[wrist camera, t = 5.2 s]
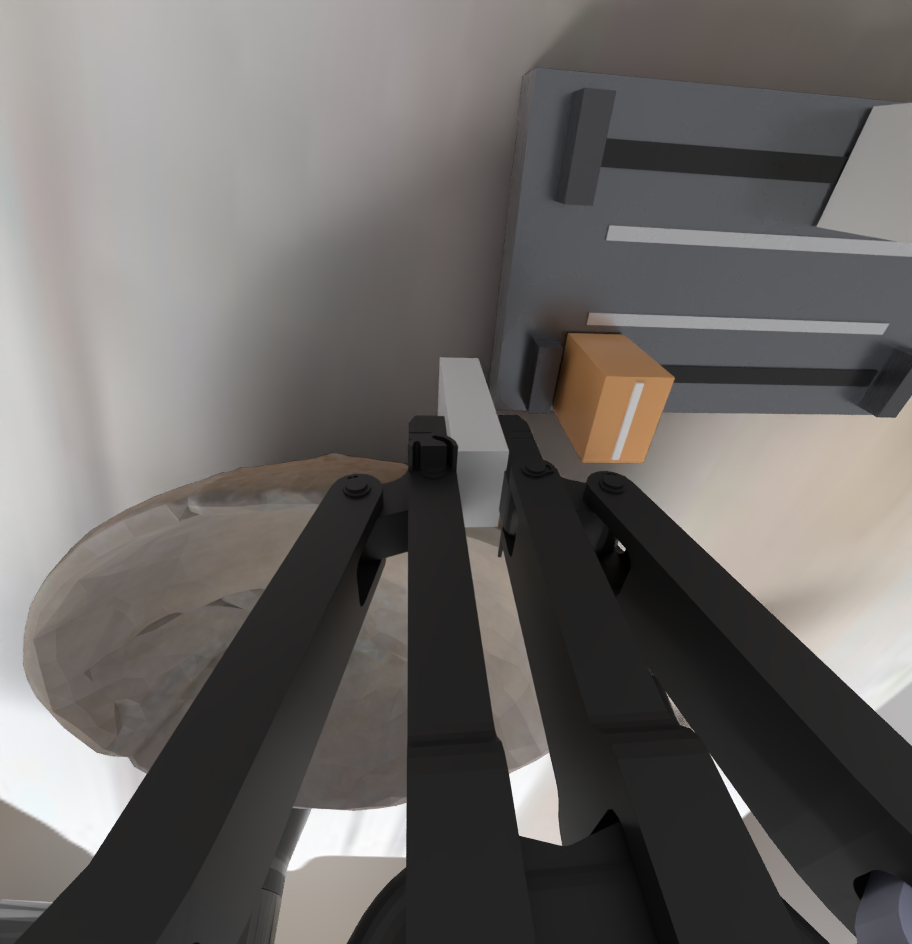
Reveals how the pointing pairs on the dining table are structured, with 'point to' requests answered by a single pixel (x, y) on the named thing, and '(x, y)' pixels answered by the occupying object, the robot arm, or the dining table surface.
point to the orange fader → (609, 397)
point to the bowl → (223, 613)
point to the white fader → (876, 180)
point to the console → (697, 248)
